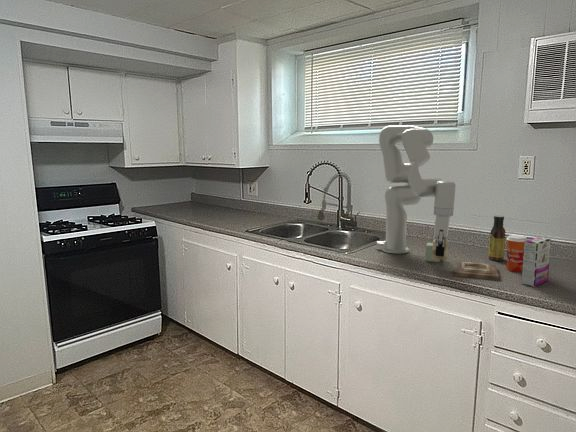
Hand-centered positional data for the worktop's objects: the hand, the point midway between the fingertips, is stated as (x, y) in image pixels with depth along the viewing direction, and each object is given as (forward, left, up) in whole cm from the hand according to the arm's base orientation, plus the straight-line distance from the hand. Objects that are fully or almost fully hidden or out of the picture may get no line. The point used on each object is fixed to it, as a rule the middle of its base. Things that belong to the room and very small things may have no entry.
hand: (440, 253), depth 174 cm
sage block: (-3, +12, -6) cm, 14 cm away
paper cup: (+29, +7, -6) cm, 30 cm away
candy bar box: (+34, -8, -6) cm, 35 cm away
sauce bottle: (+23, +22, -6) cm, 32 cm away
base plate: (+14, -2, -6) cm, 15 cm away
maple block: (0, 0, -2) cm, 2 cm away
